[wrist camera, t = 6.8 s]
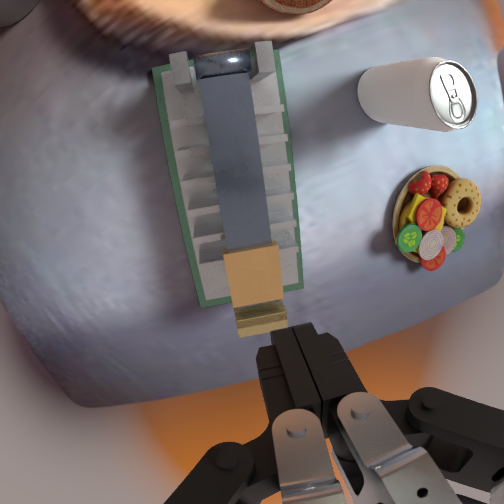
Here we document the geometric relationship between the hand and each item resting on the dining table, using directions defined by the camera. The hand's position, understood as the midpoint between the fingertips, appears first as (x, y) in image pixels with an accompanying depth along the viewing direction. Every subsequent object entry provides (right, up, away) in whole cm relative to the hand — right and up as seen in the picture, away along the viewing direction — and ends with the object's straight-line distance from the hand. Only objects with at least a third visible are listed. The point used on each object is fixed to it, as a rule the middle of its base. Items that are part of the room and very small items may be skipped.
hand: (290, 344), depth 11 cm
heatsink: (-3, +10, +20) cm, 23 cm away
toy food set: (+21, +8, +25) cm, 34 cm away
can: (+12, +20, +18) cm, 30 cm away
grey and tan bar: (-2, +9, +14) cm, 16 cm away
